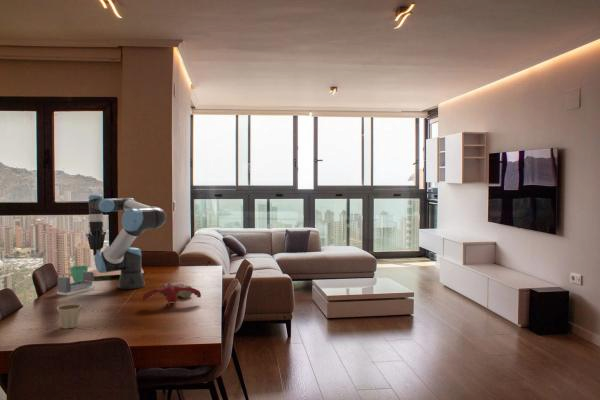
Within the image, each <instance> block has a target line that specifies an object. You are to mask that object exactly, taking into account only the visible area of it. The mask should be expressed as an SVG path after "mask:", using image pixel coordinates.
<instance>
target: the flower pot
mask: <svg viewBox="0 0 600 400" xmlns="http://www.w3.org/2000/svg"><path fill="white" fill-rule="evenodd" d="M81 308H82V305H81V304H65V305H60V306H58V307H57V308H56V310H57V311H58V312H57V313H58V314H59V318H60V324H61V325H60V326H61V328H62V329H70V328H71V329H74V328H76V327H78V324H79V323H78V322H79V315H80V310H81Z"/></svg>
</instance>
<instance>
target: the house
mask: <svg viewBox="0 0 600 400" xmlns="http://www.w3.org/2000/svg"><path fill="white" fill-rule="evenodd" d="M141 271H142V276H143V277H144V274H145V273H144V269H143V268H141ZM89 272H93V277H94V280H97V277H98V279H101V277H105V278H106V279H110V276H118V275H119V276H120V275H121V270H119V271H113V272H107V273H100V272H98V270H97V268H96V269H94V270H91V271H89Z"/></svg>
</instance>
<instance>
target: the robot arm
mask: <svg viewBox="0 0 600 400" xmlns="http://www.w3.org/2000/svg"><path fill="white" fill-rule="evenodd" d="M109 212H123V213H122V216H121V226H122V228H121V230H120V231H119V233H118V234H117V236H115V239H114V240H113V242H112V243H111V244H110V245H108V246H106V247H105V248H104V243H105V237H106V234H107V232H106V231H104V230H103V229H104V228H103V227H104V221H103V220H104V215H103V213H109ZM88 221H89V223H88V227H89V232H88V233H86V234H85V236H86V237H87V241H88V244H89V249H90V250H92V253H93V255H92V256H93V260H94V264H95V268H96V269H97V270H98V272H100V273H107V272H113V271H119V270H121V275H119V278H118V283H117V288H118V289H120V290H121V289H122V290H129V289H130V290H131V289H140V288H143V287H145V285H146V282H145V280H144V275H143V276H142V271H141V269H142V250H141V249H140V248H138V247H131V245H132V244H133V242H134V241H135V240H136V238H137V237H140V236H142V235H143V234H144V232H145V231H147V230H148V231H149V230H156V229H159V228H162V226H163V225H164V224H165V223H166V221H167V213H166V211H165V210H164V209H162V208H161V207H158V206H156V205H154V206H151V205H147V204H145V203H144V204H143V203H141V202H139V201H136V200H135V198H133V197H121V198H120V197H118V198H116V197H115V198H113V197H112V198H103V195H102V194H90V195H89V196H88ZM103 248H104V249H103ZM102 249H103V251H102V252H101V250H102Z"/></svg>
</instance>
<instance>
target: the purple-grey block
mask: <svg viewBox="0 0 600 400" xmlns="http://www.w3.org/2000/svg"><path fill="white" fill-rule="evenodd" d="M83 280H85V281H82V282H79V284H82V283H86V282H93V281H94V274H93V272H90V271H83Z"/></svg>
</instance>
